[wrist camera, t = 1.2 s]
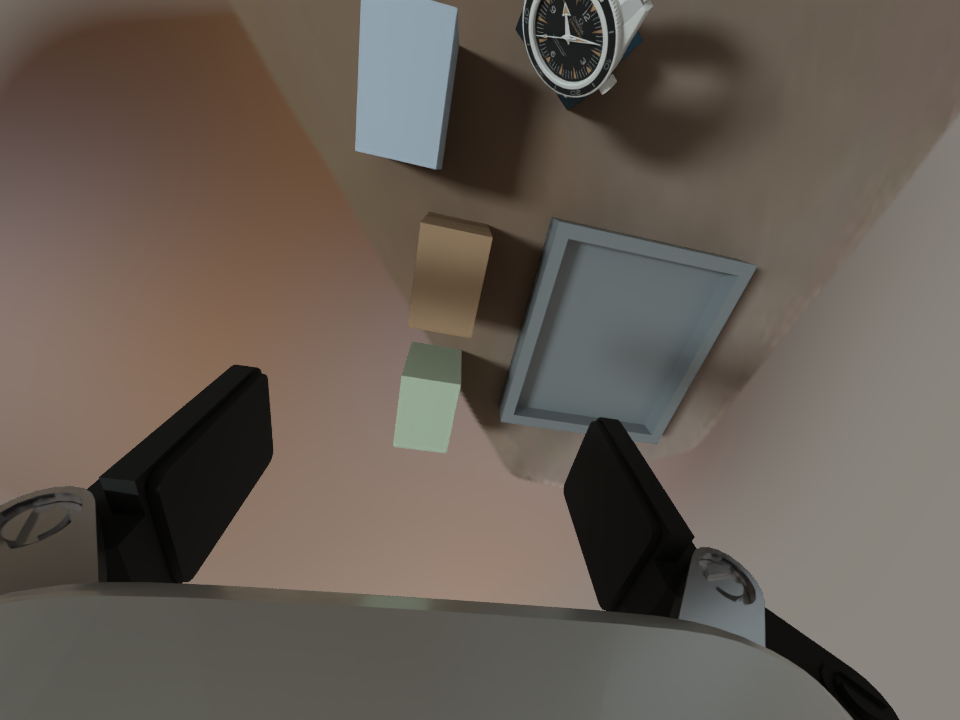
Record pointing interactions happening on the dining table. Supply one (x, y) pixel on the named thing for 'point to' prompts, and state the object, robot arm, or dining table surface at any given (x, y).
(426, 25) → the dusty blue brick
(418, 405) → the sage brick
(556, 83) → the watch
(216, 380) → the robot arm
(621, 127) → the dining table surface
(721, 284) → the tray
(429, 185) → the dining table surface
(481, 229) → the walnut brick
